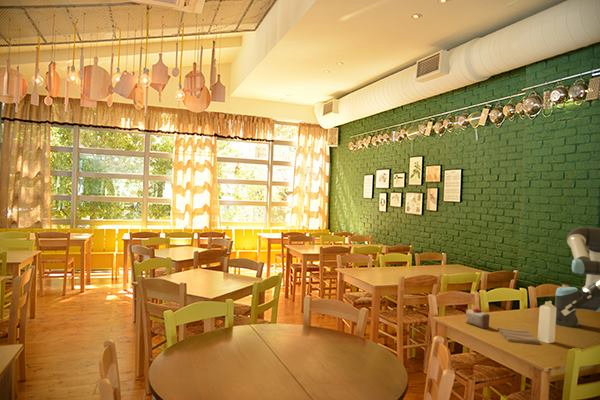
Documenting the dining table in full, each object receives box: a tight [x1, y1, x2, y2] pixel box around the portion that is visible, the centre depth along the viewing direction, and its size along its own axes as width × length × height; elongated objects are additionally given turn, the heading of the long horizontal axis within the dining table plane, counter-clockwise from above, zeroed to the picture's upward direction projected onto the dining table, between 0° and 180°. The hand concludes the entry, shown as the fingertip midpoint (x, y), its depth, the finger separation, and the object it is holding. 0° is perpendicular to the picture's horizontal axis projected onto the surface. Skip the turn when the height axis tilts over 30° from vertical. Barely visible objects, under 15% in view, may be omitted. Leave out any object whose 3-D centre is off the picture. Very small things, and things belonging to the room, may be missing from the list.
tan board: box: [497, 327, 541, 346], centre depth 243 cm, size 20×16×2 cm
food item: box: [465, 308, 490, 329], centre depth 263 cm, size 14×8×10 cm, turn 30°
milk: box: [537, 300, 557, 344], centre depth 239 cm, size 6×6×22 cm
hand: (565, 311), depth 233 cm, fingers open, 13 cm apart
